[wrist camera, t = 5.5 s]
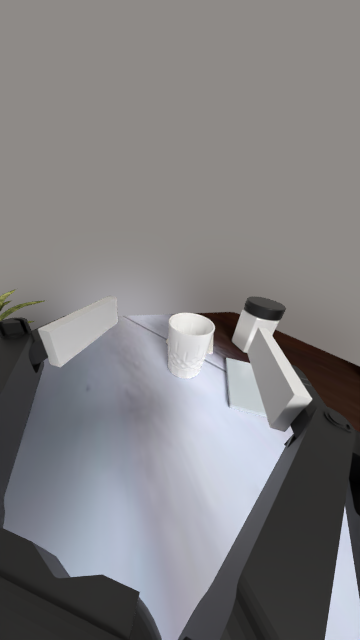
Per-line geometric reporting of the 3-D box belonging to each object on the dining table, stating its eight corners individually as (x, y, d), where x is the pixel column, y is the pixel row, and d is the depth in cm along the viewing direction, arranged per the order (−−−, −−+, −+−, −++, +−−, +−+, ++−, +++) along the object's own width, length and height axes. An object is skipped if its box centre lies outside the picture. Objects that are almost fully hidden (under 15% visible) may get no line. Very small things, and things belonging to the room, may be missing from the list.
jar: (239, 332, 45) (252, 293, 40) (268, 344, 41) (288, 304, 35) (227, 344, 39) (241, 300, 33) (260, 361, 34) (283, 314, 29)
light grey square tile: (278, 372, 32) (279, 370, 31) (305, 428, 22) (308, 425, 22) (225, 360, 33) (226, 357, 33) (229, 407, 24) (230, 404, 23)
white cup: (197, 388, 26) (209, 341, 21) (157, 371, 28) (160, 326, 23) (207, 360, 33) (218, 319, 28) (174, 348, 35) (179, 309, 30)
